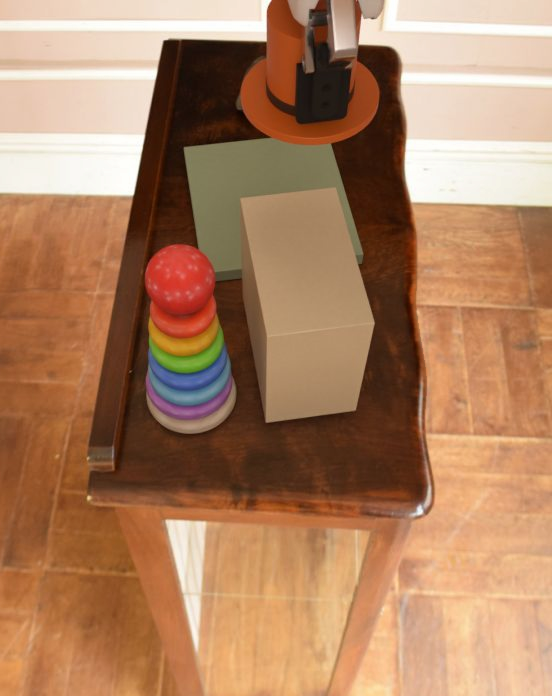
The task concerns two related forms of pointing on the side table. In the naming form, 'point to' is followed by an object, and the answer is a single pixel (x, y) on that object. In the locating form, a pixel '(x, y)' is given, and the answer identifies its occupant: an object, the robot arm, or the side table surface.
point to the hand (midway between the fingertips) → (310, 83)
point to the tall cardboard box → (303, 304)
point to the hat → (280, 85)
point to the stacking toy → (186, 343)
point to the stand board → (252, 190)
